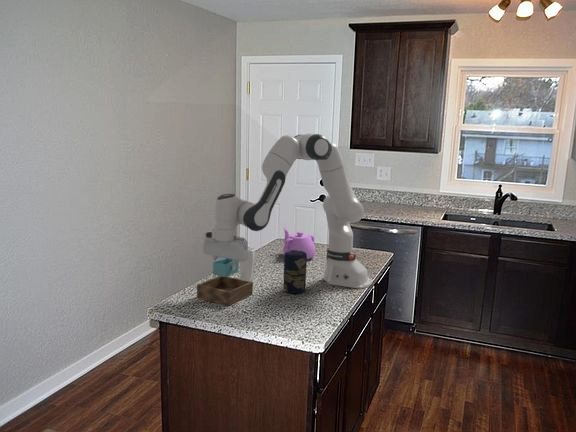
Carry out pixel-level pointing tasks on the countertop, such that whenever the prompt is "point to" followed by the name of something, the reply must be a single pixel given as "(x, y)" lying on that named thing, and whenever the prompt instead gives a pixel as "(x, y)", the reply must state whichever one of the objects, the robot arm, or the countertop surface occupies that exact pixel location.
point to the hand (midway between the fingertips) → (225, 268)
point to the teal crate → (224, 267)
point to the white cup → (247, 266)
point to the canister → (295, 271)
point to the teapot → (299, 243)
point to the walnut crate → (224, 290)
